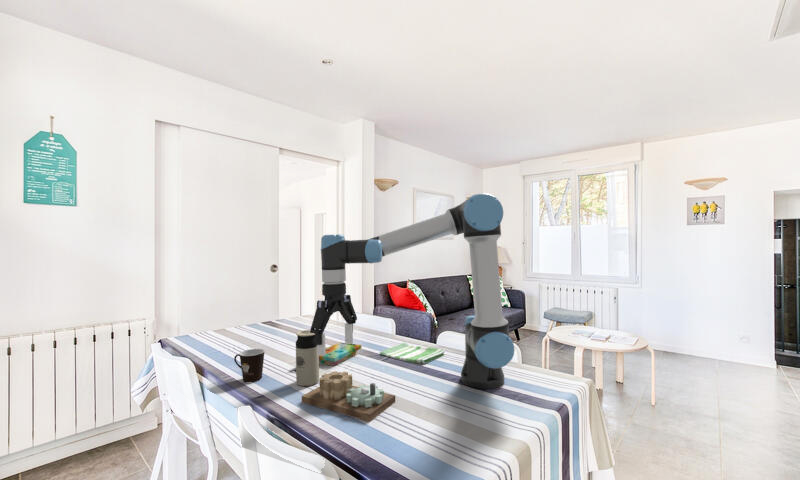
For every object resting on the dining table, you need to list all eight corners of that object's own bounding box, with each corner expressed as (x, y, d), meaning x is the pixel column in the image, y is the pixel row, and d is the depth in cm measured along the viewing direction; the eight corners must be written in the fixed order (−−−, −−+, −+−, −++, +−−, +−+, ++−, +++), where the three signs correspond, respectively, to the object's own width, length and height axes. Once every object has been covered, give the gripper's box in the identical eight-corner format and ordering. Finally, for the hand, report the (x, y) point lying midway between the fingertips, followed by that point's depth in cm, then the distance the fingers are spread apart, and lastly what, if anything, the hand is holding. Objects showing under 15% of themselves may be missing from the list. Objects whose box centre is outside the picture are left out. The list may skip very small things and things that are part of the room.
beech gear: (358, 389, 117) (358, 374, 117) (338, 402, 108) (338, 385, 108) (334, 384, 122) (333, 369, 122) (313, 395, 113) (312, 379, 113)
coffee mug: (269, 378, 133) (268, 351, 133) (246, 385, 127) (245, 357, 127) (254, 371, 141) (254, 346, 141) (232, 377, 135) (232, 351, 135)
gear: (390, 395, 111) (390, 379, 111) (370, 410, 102) (369, 393, 102) (361, 388, 117) (360, 373, 117) (339, 402, 107) (338, 385, 107)
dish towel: (404, 346, 173) (404, 340, 173) (446, 355, 158) (445, 349, 158) (379, 356, 159) (379, 349, 159) (422, 367, 144) (422, 360, 144)
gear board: (395, 401, 112) (395, 382, 112) (370, 421, 100) (369, 400, 100) (331, 386, 125) (330, 369, 125) (301, 402, 113) (301, 383, 113)
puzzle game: (311, 352, 150) (340, 340, 168) (312, 363, 150) (340, 350, 168) (334, 356, 144) (361, 343, 162) (335, 367, 144) (361, 353, 162)
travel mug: (311, 376, 135) (311, 328, 135) (323, 382, 129) (322, 332, 129) (292, 382, 129) (291, 332, 129) (303, 388, 123) (302, 336, 124)
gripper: (348, 278, 128) (350, 337, 128) (296, 287, 106) (298, 358, 106) (366, 278, 124) (367, 340, 124) (315, 288, 102) (317, 362, 102)
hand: (336, 348), depth 115 cm, fingers open, 13 cm apart
